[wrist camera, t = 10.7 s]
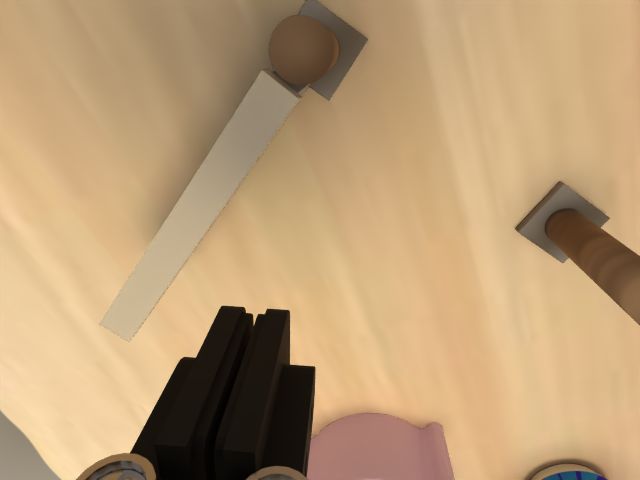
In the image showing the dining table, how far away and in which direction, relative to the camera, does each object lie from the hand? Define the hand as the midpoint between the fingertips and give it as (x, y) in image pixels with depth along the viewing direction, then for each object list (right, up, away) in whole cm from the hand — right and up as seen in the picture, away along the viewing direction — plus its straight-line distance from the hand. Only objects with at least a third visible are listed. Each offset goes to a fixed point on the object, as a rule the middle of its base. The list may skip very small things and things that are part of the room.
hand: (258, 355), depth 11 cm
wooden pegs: (+10, +10, +19) cm, 24 cm away
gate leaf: (-5, +7, +20) cm, 22 cm away
